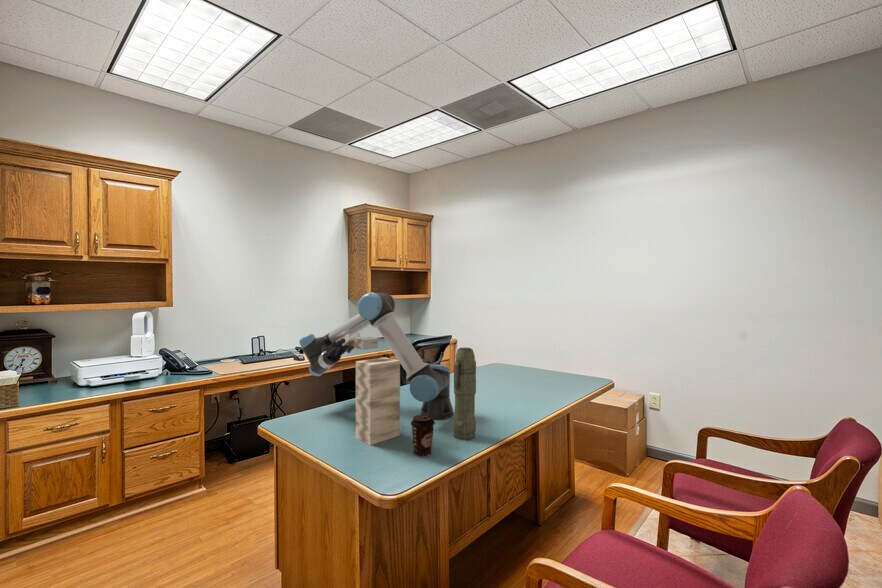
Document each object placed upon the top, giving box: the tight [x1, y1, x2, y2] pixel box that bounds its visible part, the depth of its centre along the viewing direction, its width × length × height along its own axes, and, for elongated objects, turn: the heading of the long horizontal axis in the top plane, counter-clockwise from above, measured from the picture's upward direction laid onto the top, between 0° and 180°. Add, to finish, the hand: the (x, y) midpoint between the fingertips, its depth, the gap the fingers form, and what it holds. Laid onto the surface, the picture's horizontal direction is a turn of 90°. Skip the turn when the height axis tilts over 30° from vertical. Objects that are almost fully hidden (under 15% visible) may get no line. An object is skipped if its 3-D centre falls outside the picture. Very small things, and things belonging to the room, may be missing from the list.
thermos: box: [452, 347, 477, 441], centre depth 163 cm, size 9×12×35 cm
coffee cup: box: [410, 414, 436, 458], centre depth 146 cm, size 9×8×13 cm
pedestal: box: [354, 356, 401, 446], centre depth 162 cm, size 10×14×30 cm
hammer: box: [341, 336, 379, 351], centre depth 171 cm, size 19×7×4 cm, turn 44°
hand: (354, 336), depth 173 cm, fingers closed on hammer, 4 cm apart
